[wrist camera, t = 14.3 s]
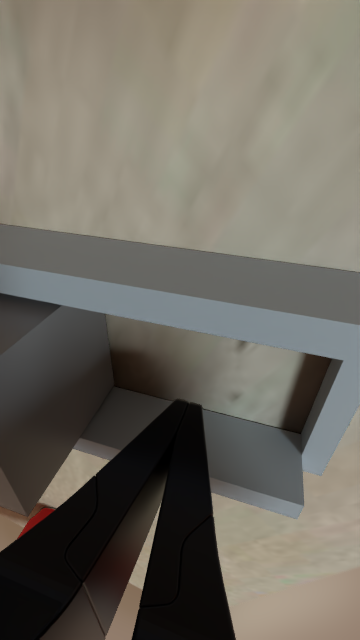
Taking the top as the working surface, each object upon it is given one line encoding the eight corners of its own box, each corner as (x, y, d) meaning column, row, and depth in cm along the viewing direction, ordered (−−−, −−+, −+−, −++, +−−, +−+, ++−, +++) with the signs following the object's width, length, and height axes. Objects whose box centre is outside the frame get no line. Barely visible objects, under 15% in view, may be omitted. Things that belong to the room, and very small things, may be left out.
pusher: (99, 274, 11) (-43, 389, 6) (114, 385, 14) (27, 516, 10) (-11, 256, 12) (-201, 342, 7) (26, 362, 15) (-92, 470, 11)
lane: (406, 279, 8) (513, 420, 4) (319, 454, 13) (332, 599, 9) (-213, 195, 14) (-409, 224, 10) (-118, 338, 19) (-227, 396, 15)
